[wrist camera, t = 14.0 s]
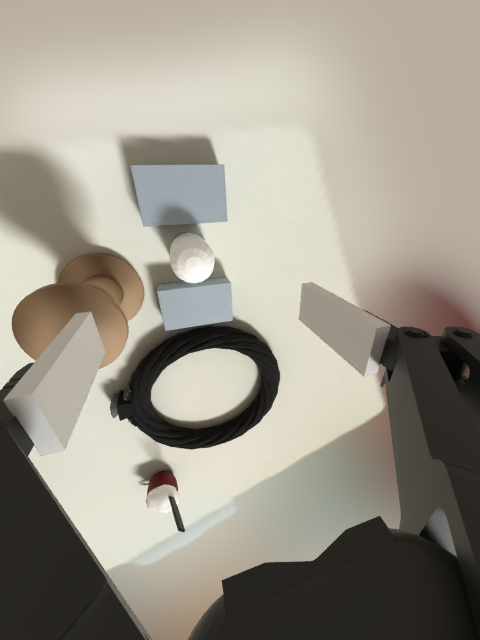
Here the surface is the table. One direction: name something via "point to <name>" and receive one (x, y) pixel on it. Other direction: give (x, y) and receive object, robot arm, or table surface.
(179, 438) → the cable lock
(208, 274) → the capsule
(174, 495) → the cocoa
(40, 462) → the table surface
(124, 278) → the knob
